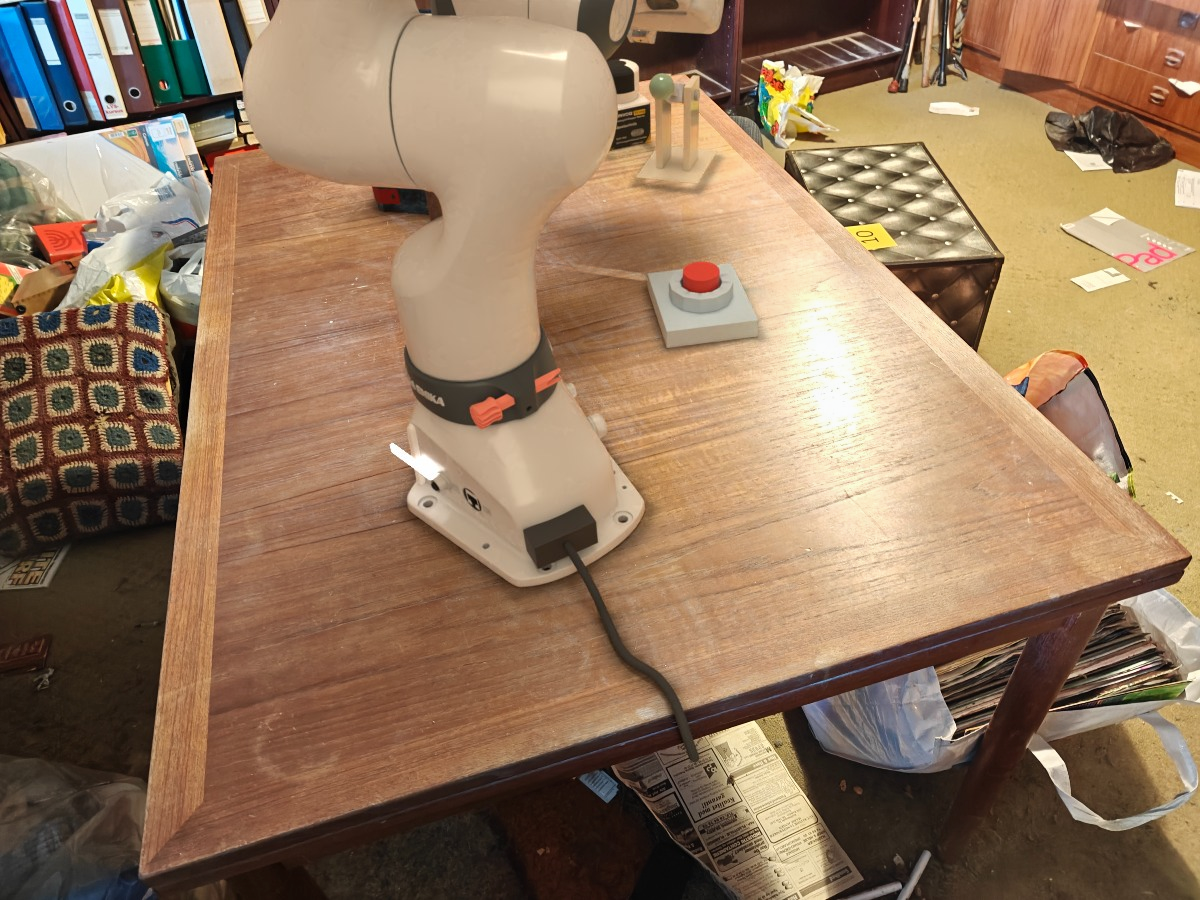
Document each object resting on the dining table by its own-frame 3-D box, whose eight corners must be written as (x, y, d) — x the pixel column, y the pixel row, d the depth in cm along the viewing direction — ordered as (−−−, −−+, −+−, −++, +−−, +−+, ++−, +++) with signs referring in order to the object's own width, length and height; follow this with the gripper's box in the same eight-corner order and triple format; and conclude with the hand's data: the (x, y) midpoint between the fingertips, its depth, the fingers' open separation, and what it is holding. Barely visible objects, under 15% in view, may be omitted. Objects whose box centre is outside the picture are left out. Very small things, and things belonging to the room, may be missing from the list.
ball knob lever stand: (697, 191, 119) (699, 98, 110) (635, 184, 121) (632, 93, 112) (717, 157, 126) (720, 68, 117) (658, 152, 129) (657, 64, 120)
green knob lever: (669, 100, 107) (672, 72, 106) (644, 98, 108) (647, 70, 107) (689, 108, 117) (692, 83, 116) (667, 106, 118) (670, 81, 117)
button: (722, 292, 93) (723, 278, 92) (686, 296, 93) (686, 282, 92) (714, 273, 96) (715, 259, 95) (679, 277, 96) (679, 263, 95)
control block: (757, 336, 93) (759, 305, 90) (666, 348, 92) (666, 317, 89) (730, 279, 102) (732, 249, 99) (647, 289, 101) (646, 259, 98)
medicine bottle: (608, 158, 128) (603, 75, 120) (591, 140, 133) (585, 60, 125) (651, 148, 130) (650, 66, 122) (633, 131, 135) (630, 51, 127)
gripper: (511, -6, 89) (555, 58, 102) (702, 1, 83) (723, 69, 96) (523, -66, 89) (566, 6, 102) (715, -63, 83) (734, 13, 96)
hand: (643, 37), depth 99 cm, fingers closed
